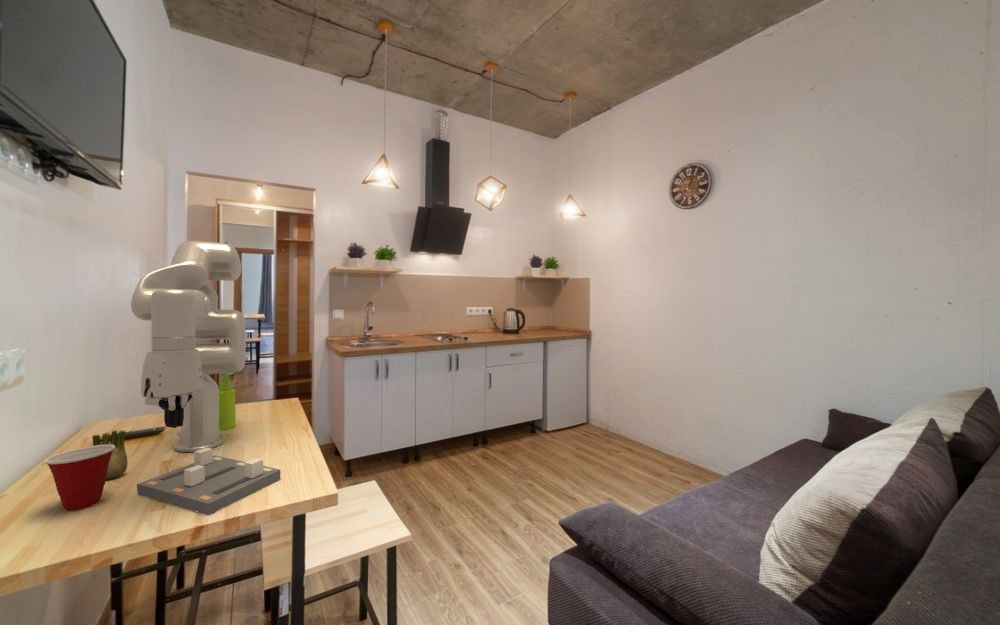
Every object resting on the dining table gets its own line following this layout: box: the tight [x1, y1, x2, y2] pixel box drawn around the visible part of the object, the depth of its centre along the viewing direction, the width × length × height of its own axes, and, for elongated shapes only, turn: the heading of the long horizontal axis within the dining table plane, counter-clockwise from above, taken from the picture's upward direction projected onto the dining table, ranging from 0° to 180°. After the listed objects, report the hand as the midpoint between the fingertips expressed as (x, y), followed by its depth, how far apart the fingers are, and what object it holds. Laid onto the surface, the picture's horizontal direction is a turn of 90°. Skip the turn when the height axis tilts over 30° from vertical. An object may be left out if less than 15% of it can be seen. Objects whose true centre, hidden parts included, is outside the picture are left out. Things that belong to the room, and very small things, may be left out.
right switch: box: [244, 457, 264, 478], centre depth 97 cm, size 2×3×4 cm
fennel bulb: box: [92, 429, 128, 481], centre depth 100 cm, size 6×5×12 cm
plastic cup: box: [43, 444, 115, 512], centre depth 87 cm, size 11×11×12 cm
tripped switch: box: [184, 465, 205, 486], centre depth 93 cm, size 2×3×4 cm
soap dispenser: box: [219, 372, 237, 431], centre depth 138 cm, size 6×7×20 cm
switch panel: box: [136, 454, 281, 516], centre depth 97 cm, size 24×18×3 cm
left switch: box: [193, 448, 214, 466], centre depth 103 cm, size 2×3×4 cm
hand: (174, 426), depth 88 cm, fingers closed
